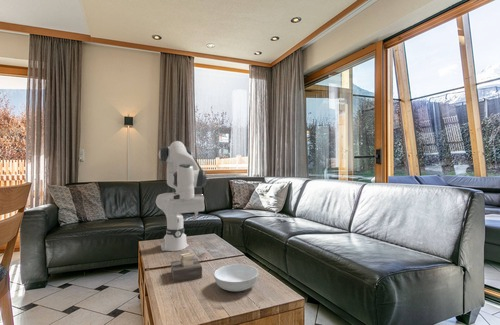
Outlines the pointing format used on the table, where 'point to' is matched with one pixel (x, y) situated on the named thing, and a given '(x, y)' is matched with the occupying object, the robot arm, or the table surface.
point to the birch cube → (186, 259)
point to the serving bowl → (236, 277)
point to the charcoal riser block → (186, 271)
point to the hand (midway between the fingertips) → (185, 221)
